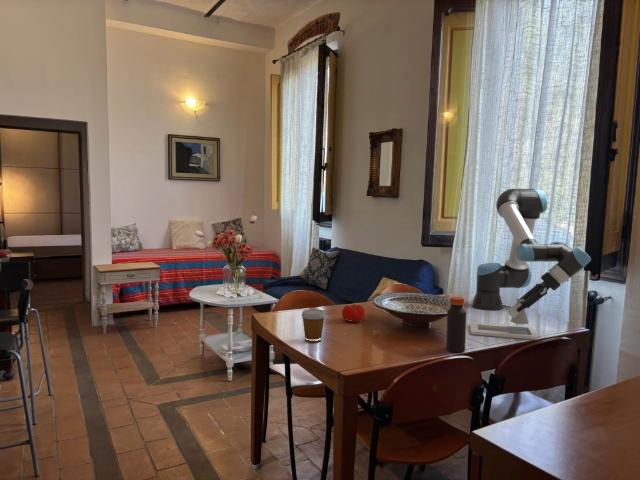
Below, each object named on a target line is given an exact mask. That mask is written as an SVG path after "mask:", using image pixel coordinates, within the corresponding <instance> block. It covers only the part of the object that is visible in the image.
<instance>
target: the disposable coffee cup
mask: <svg viewBox="0 0 640 480" xmlns="http://www.w3.org/2000/svg"><path fill="white" fill-rule="evenodd" d="M325 316H326V313H325V311H324V310H322V309H318V308H308V309H307V308H306V309H304V310H302V313H301V318H302V323H303V330H304V331H303V332H304V339H305V338H307V339H319V338H321V337H322V338H323V330H324V329H323V328H324V321H325ZM322 338H321V340H318V341H309V340H306V339H305V342H306V343H308V344H317V343H321V342H322Z"/></svg>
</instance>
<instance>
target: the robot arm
mask: <svg viewBox="0 0 640 480" xmlns="http://www.w3.org/2000/svg"><path fill="white" fill-rule="evenodd" d="M495 203H496V204H495V206H496V207H495V208H496V212H497V213H498V215H499V216H500V217H501V218H503V220H504V221H505V224H506V226H507V228H508V230H509V231H510V233H511V235H512V242H511V246H510V252H509V258H508V259H507V260H505V262H504V265H501V264H502V263H500V262H487V263H486V262H485V263H481V264H479V265H478V266H477V271H476V291H475V295H474V298H473V300H472V307H473V308H476V309H478V310H486V311H487V310H488V311H499V310H502V309H504V304H503V303H504V302H503V301H502V297H501V289H502V288H503V289H520V288H526V287H528V286H529V285H530V283H531V281H532V269H531V267H530V265H529V262H532V263H533V262H540V263H541V262H546V263H547V262H549V263H550V262H553V263H554V262H555V263H556V262H557V263H556V264H554V265H553V266H552V267H550V269H548V271H546V272H544V274H543V275H541V277H540V280H542V282H540V283H536V284H535V285H534V286H533V287H532V288H531V289H530V290H528V291H526V292H525V294H523V295H522V296H521V297H520V298H519V299H524V302H520V304H519V305H518V306H517V302H516V303H515V304H513V305H512V306H511V307H509V308H508V310H506V311H507V313H508V315H509V316H511V319H512V318H514V317H516V316H517V315H518V314H519V313H521V312H522V311H523V310H524V309H525V310H526V309H530V307H532V306H533V305H534V304H535V303H536V302H538V301H540V300H541V298H543V297H544V296H546V295H547V294H548V290H550V289H551V290H552V291H556V290H558V289H559V288H560V287H561V284H564V283H566V282H569V281H570V279H571V278H572V277H573V276H575V275H576V274H577V273H578V272H580V271H581V270H582V269H584V268H586V266H587V265H588V264H589V263H590V262H591V261H592V258H591V256H590V255H589V254H588V253H587V252H586V251H585V250H584V249H583V248H581V247H579V246H578V247H575V248H574V249H573V248H571V247H570V246H569V245H567V244H566V243H564V242H563V241H561V240H555V241H552V242H550V243H538V242H537V240H536V238H535V235H533V234H534V228H535V224H536V221H537V220H538V219H540V216H541V214H544V213H545V212H546V211H547V209H548V198H547V195H546V193H545V191H544V190H542V189H538V188H537V189H536V188H510V189H506V190H505V191H502V193H500V194H499V196H498V197H497V199H496V202H495ZM516 306H517V307H516Z"/></svg>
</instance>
